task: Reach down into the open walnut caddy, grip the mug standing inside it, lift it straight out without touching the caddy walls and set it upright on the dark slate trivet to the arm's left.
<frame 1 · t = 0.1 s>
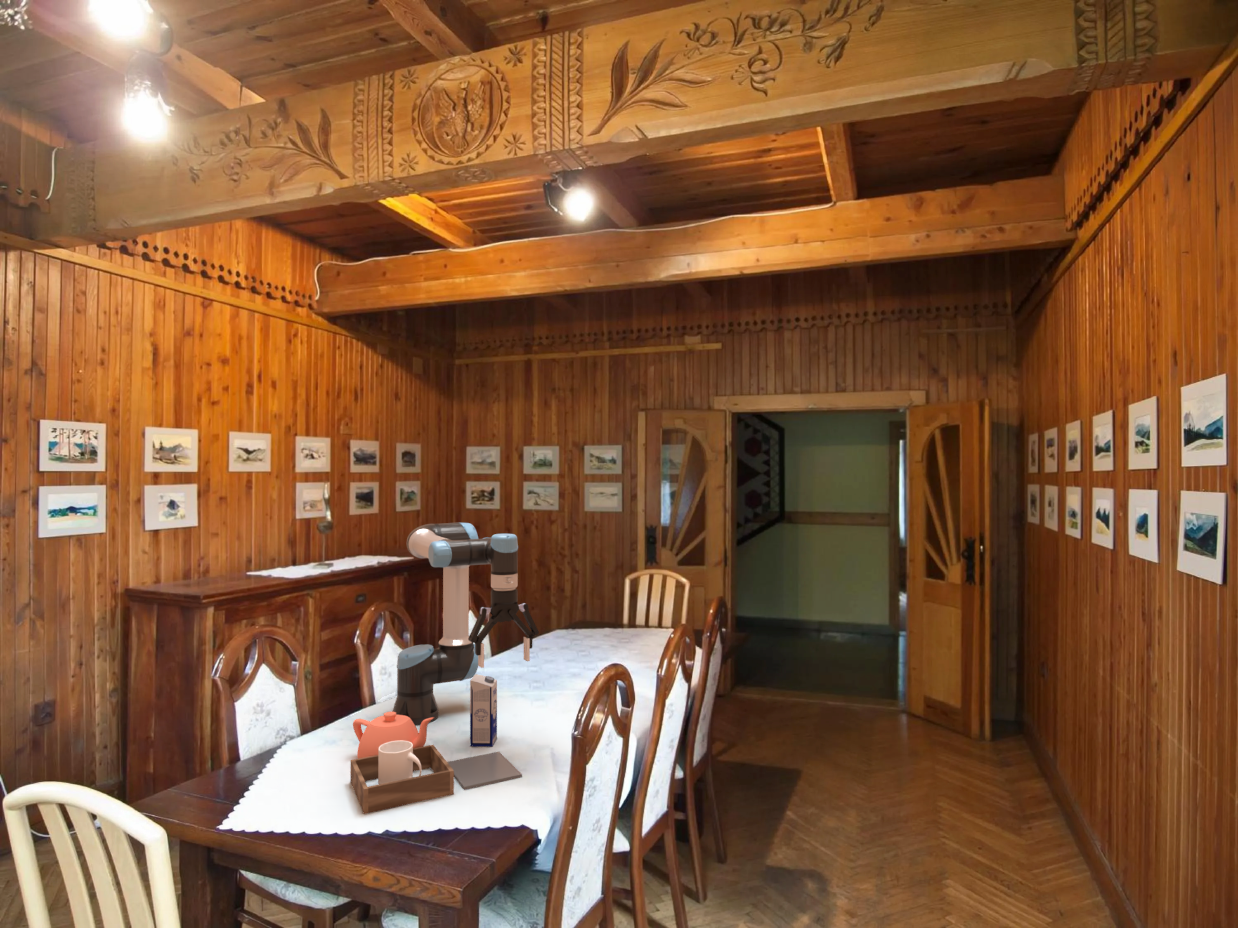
hand: (504, 663, 204), 28 cm above the table, fingers open, 13 cm apart
milk carton: (483, 742, 219), on the table
teapot: (392, 760, 205), on the table
slate trivet: (482, 770, 198), on the table
walnut caddy: (401, 788, 187), on the table
mug: (401, 789, 187), resting in walnut caddy
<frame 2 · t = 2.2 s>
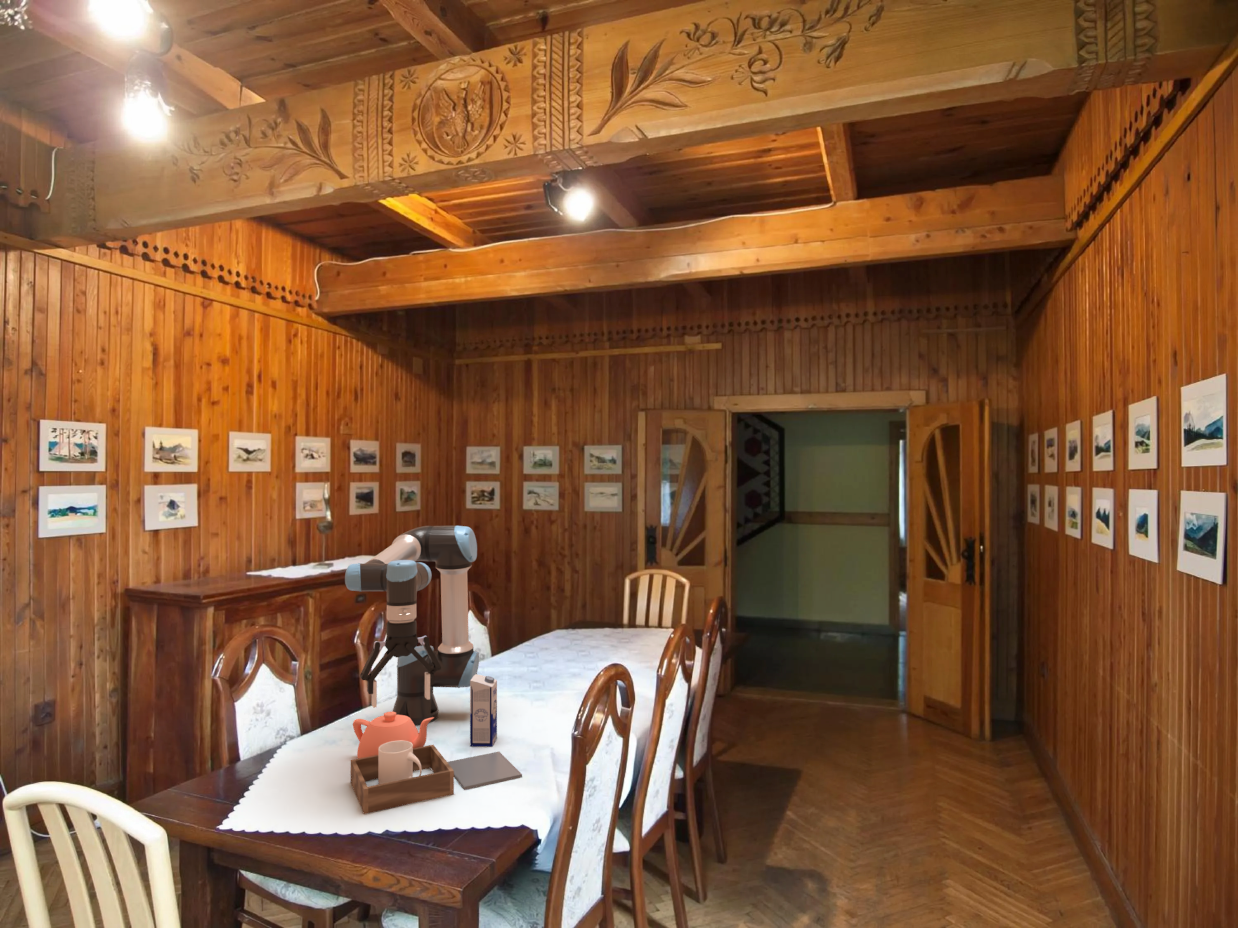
hand: (401, 701, 187), 22 cm above the table, fingers open, 13 cm apart
nothing on the table moved.
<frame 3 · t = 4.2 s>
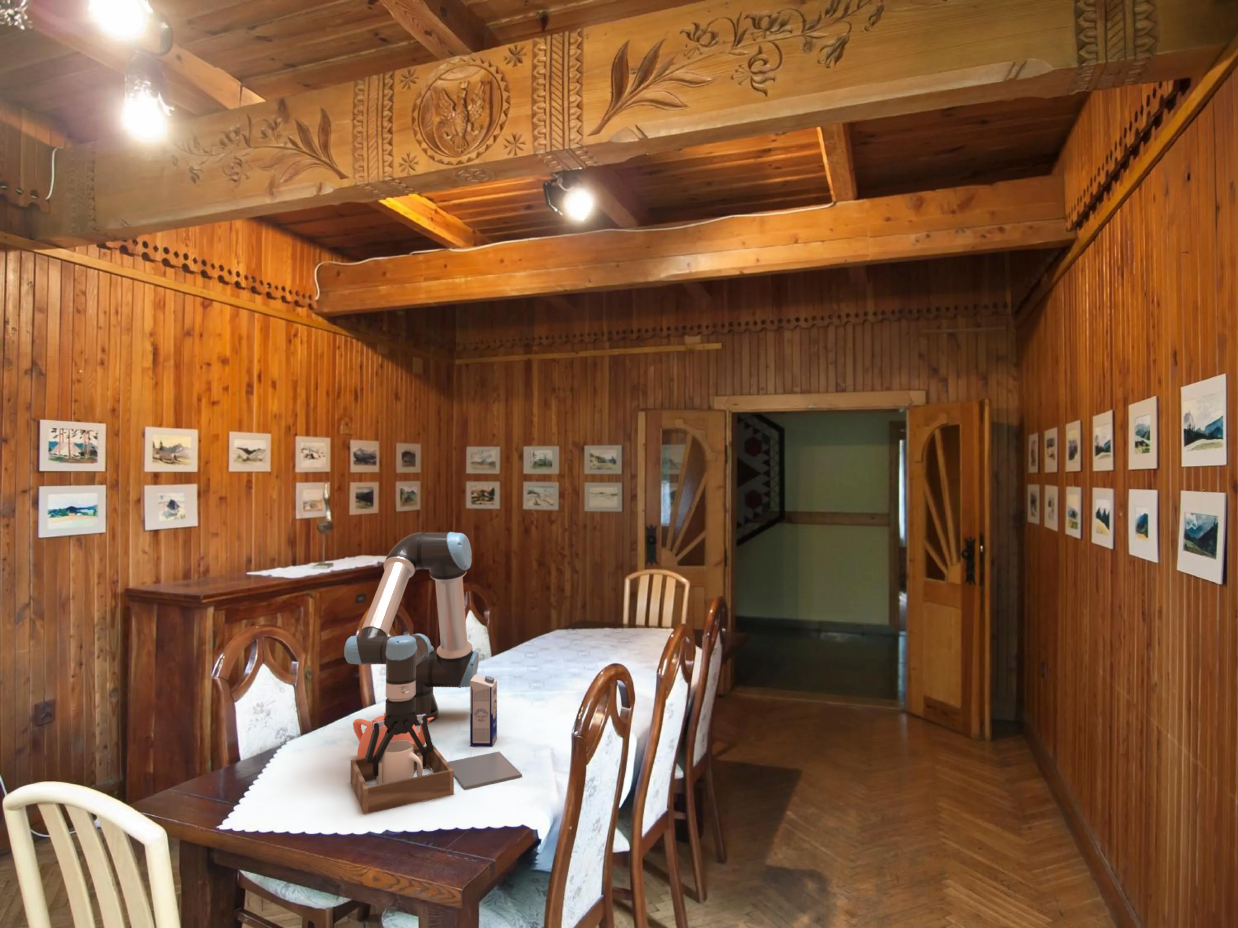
hand: (399, 783, 187), 1 cm above the table, fingers open, 10 cm apart
mug: (402, 788, 187), resting in walnut caddy, touching gripper
everything else where it was.
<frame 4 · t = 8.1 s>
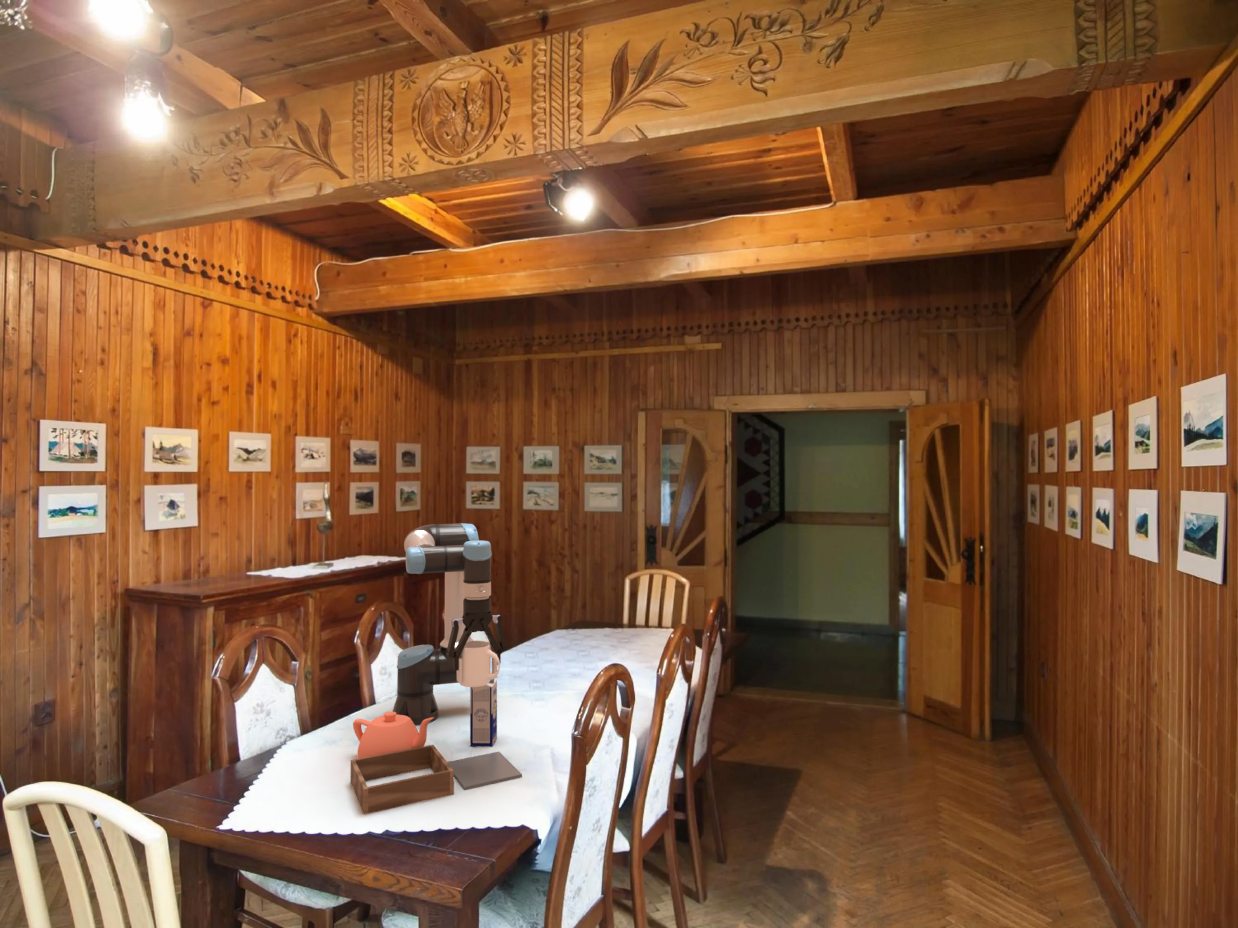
hand: (477, 679, 197), 25 cm above the table, fingers closed on mug, 9 cm apart
mug: (480, 684, 198), point 24 cm above the table, touching gripper
everything else where it was.
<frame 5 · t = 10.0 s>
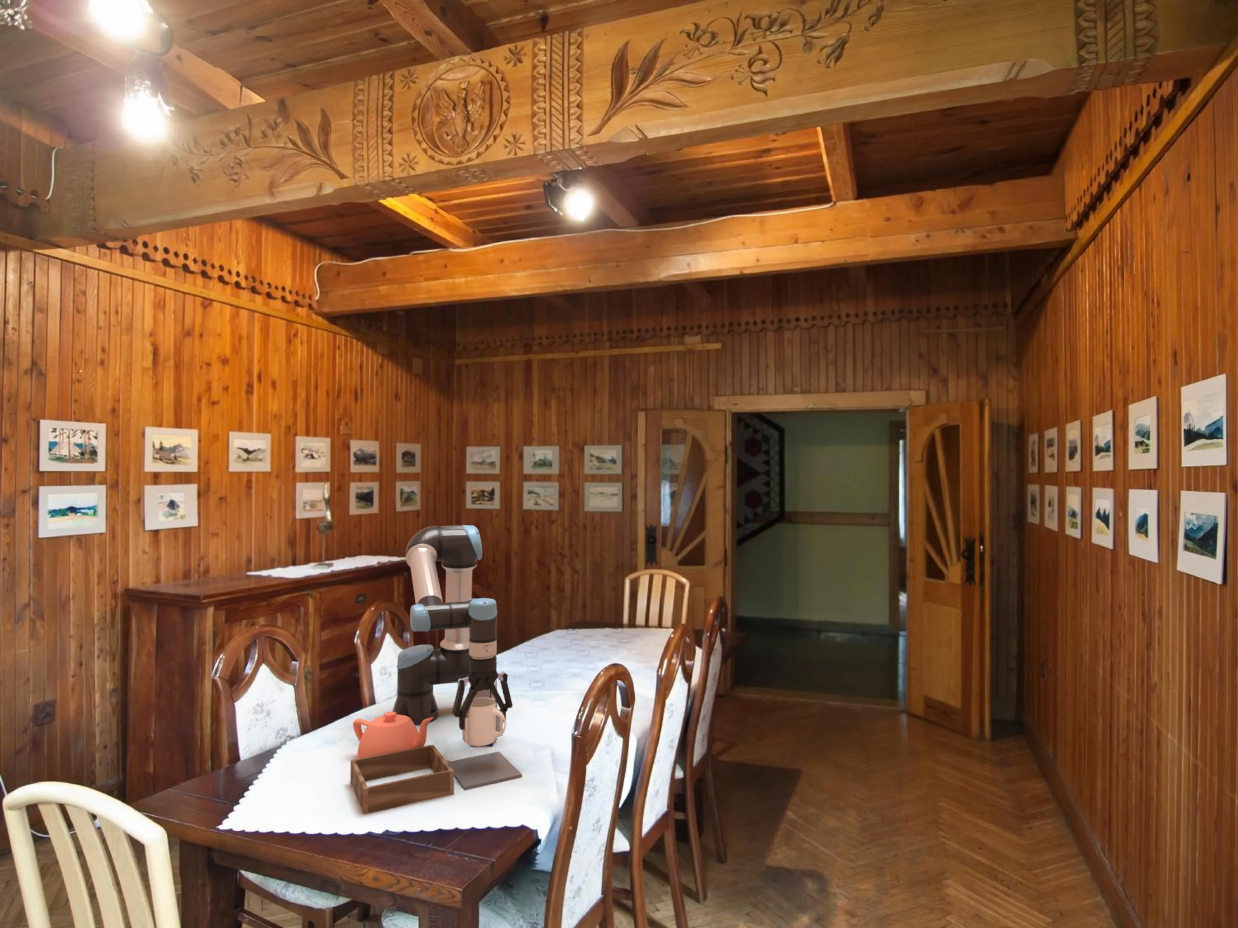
hand: (482, 737, 198), 9 cm above the table, fingers closed on mug, 9 cm apart
mug: (485, 742, 198), point 8 cm above the table, touching gripper
everything else where it was.
when the fingers open (3 cm above the table, at t = 11.5 s): mug stays where it is, resting on slate trivet.
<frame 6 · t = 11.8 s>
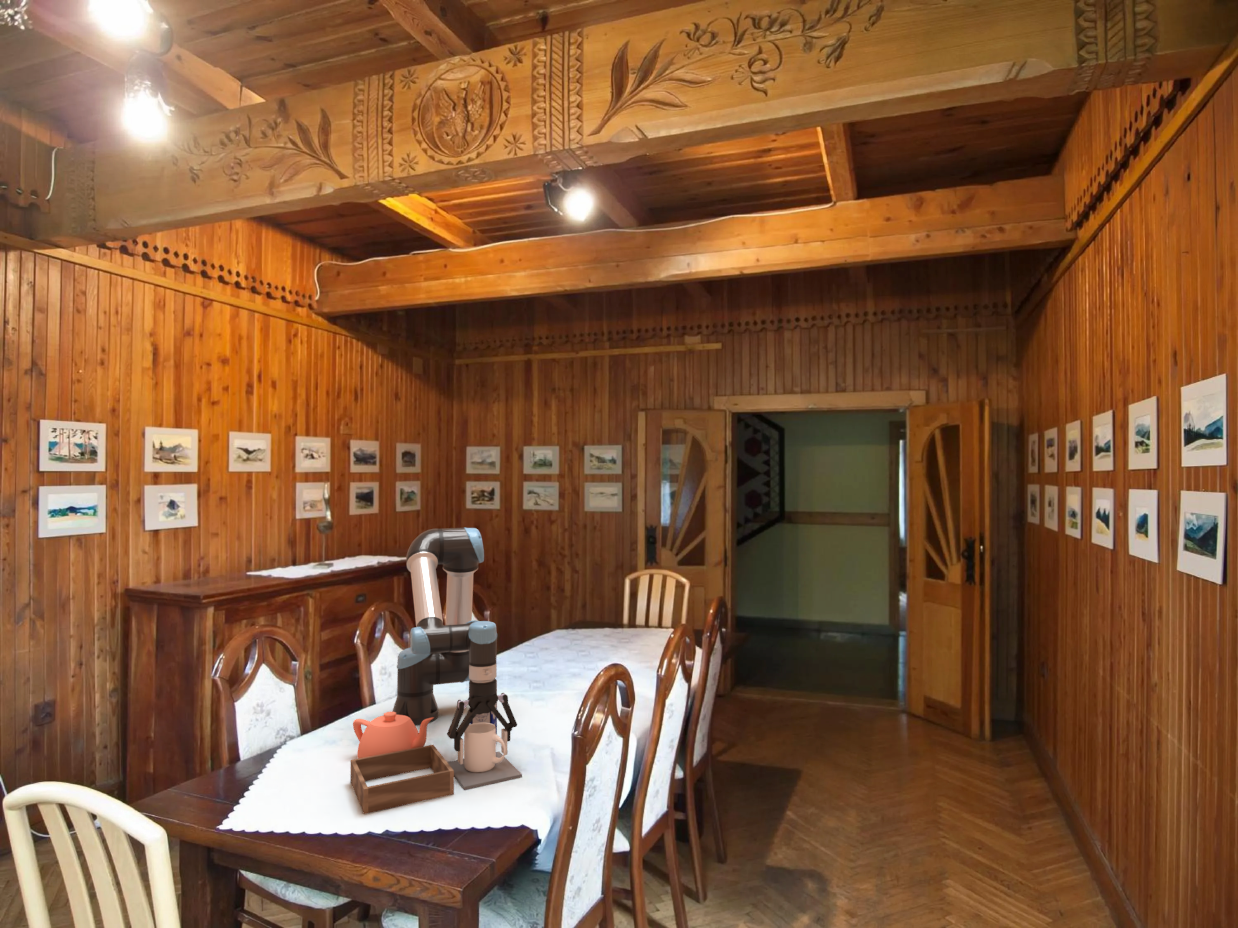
hand: (482, 757, 198), 4 cm above the table, fingers open, 12 cm apart
mug: (485, 768, 198), point 1 cm above the table, touching slate trivet
everything else where it was.
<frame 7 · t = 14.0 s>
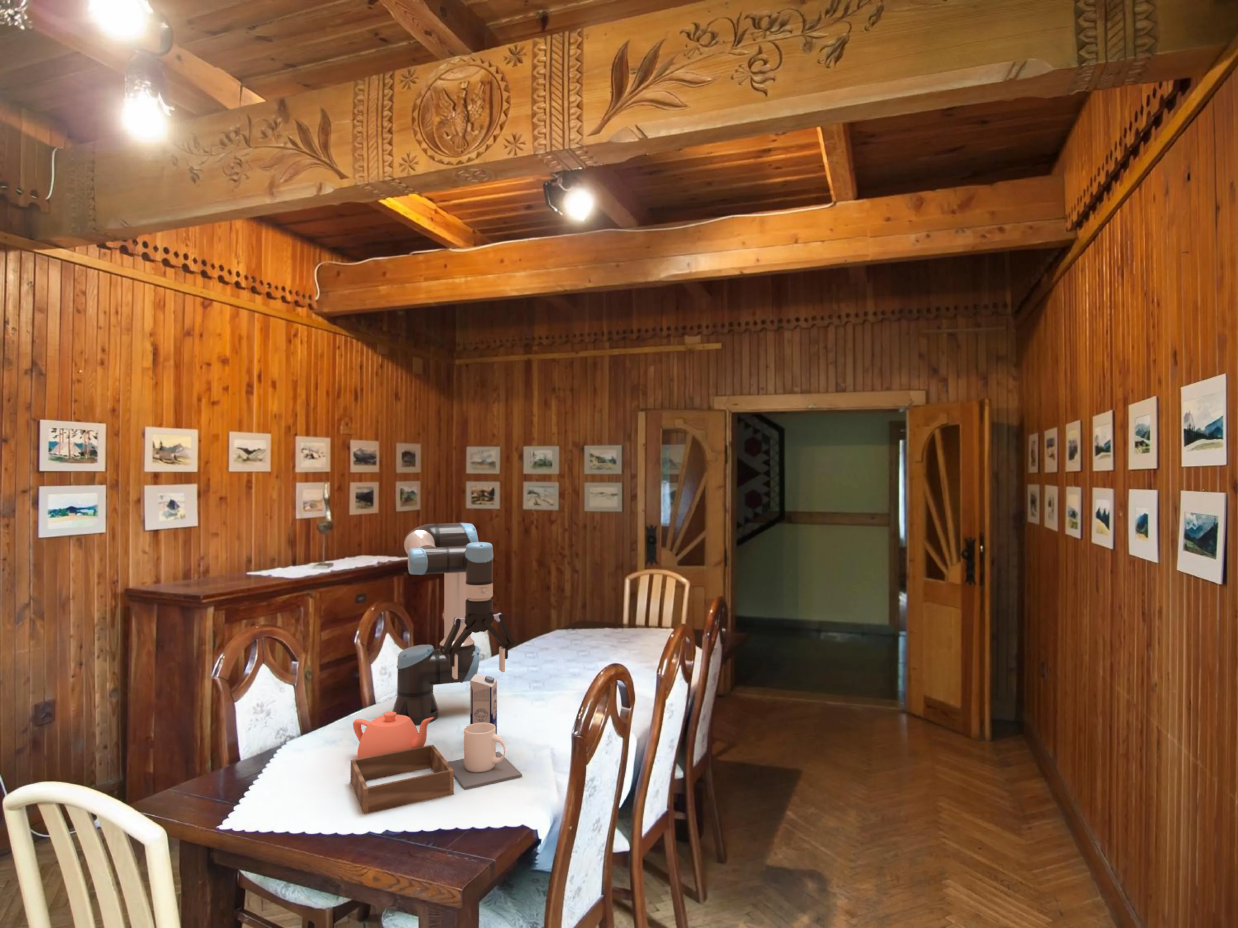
hand: (478, 674, 200), 26 cm above the table, fingers open, 13 cm apart
nothing on the table moved.
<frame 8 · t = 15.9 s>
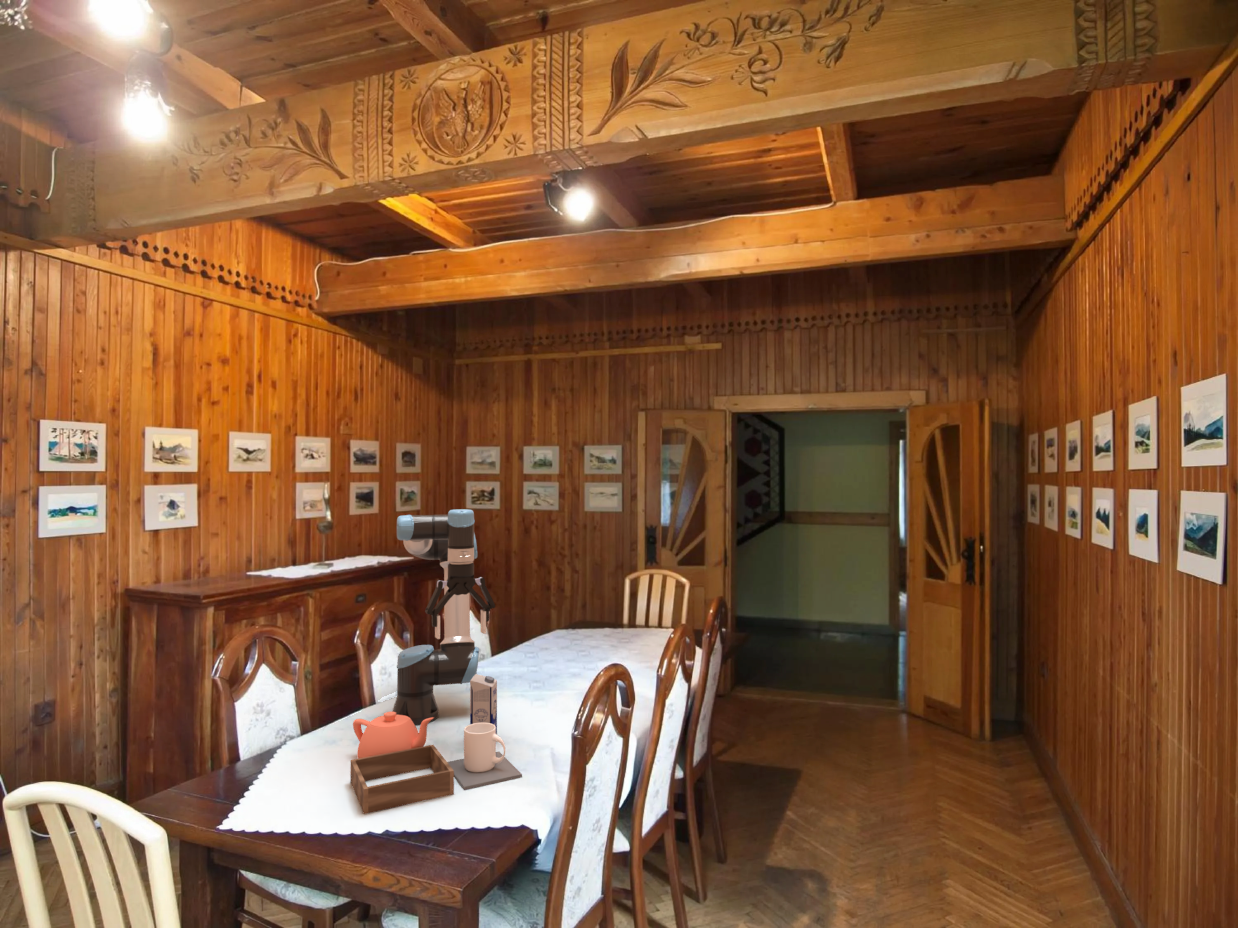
hand: (460, 635, 209), 35 cm above the table, fingers open, 13 cm apart
nothing on the table moved.
at the end: mug inside the target area on the slate trivet (0.8 cm from its centre), point 0.6 cm above the slate trivet's base; mug tilted 0°; the gripper is holding nothing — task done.
